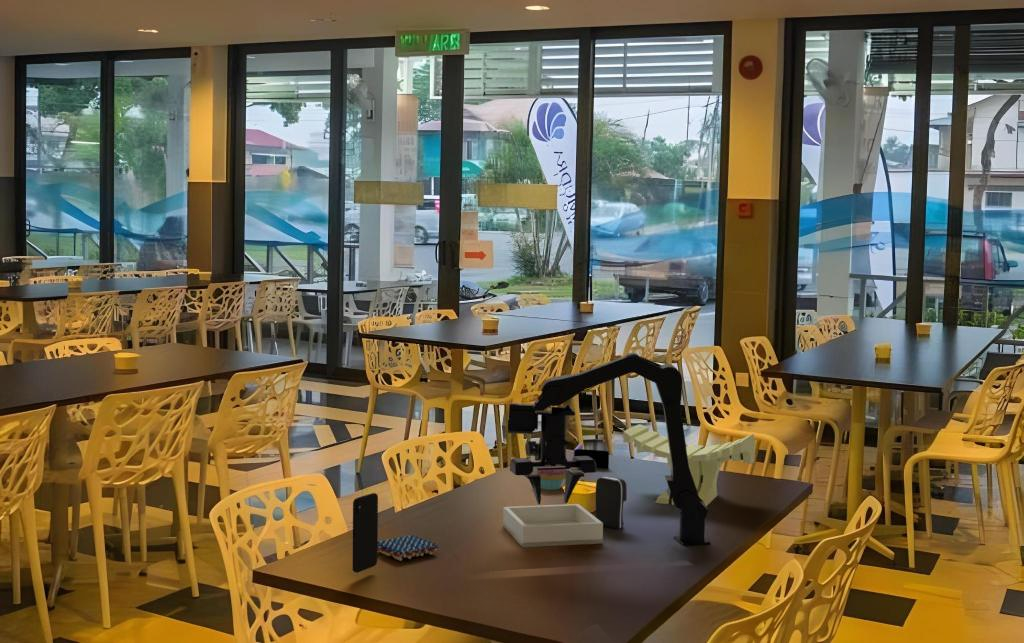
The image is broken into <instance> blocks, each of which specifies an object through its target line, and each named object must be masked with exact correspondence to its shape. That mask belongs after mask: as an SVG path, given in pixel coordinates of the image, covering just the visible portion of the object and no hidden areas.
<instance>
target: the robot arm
mask: <svg viewBox="0 0 1024 643" xmlns="http://www.w3.org/2000/svg"><path fill="white" fill-rule="evenodd" d="M631 373H634V374H636V375H638V376H640V377H642V378H644V379H646V380H648V381H650V382H652V383H655V387H656V389H657V393H658V396H659V398H660V402H661V404H662V407H663V413H664V414H663V415H664V421H665V427H666V435H667V436H666V437H667V438H668V443H669V451H670V458H671V465H672V469H671V470H670V475H668V474H667V475H664V478H665V481H666V483H667V488H666V490H667V494H668V496H669V499H672V500H673V503H674V505H673V506H675V507H676V508H677V509H679V510H680V513H679V525H678V526H679V530H678V532H679V533H678V535H673V539H674V540H675V541H677V542H678V543H680V544H681V545H683V546H697V545H700V546H701V545H711V541H710V540H709V539H708V538H706V518H707V515H708V513H709V509H708V507H707V506H706V505H705V503H704V501H703V500H702V499H701V498H700V497H699V496H698V492H697V489H696V486H695V483H694V480H693V477H692V474H691V472H690V469H689V464H688V457H687V450H686V444H687V443H686V437H685V436H686V435H685V430H684V428H685V427H684V422H683V417H682V416H683V415H682V409H681V405H682V404H681V403H682V396H683V395H682V393H683V376H682V374H681V372H680V371H679V370H678V368H677V367H676V366H674V365H673V364H670V363H664V364H659V363H658V362H655V361H652V360H649V359H648V358H646V357H643V356H640V355H639V354H638V353H635V352H629V353H627V354H626V355H624V356H621V357H618V358H616V359H613V360H611V361H608V362H605V363H603V364H599V365H597V366H594V367H591V368H589V369H586V370H584V371H580V372H578V373H572V374H563V375H557V376H553V377H552V376H551V377H550V378H547V379H546V380H545V381H544V382H543V385H541V386H542V387H541V394H540V395H538V397H537V398H536V399H534V402H533V403H517V402H510V403H509V409H508V418H507V434H515V435H516V434H519V435H533V434H534V432H536V431H537V430H539V416H541V417H540V436H539V443H537V441H535V440H532V441H531V440H529V441H526V448H525V451H526V456H527V457H519V458H517V457H515V458H513V457H512V458H511V459H510V462H509V471H510V472H511V473H512V474H513V475H514V476H524V477H525V478H526V479H528V480H529V483H530V485H531V487H532V491H533V495H534V497H535V501H536V503H537V505H541V503H542V502H541V499H542V488H541V476H540V475H538V470H554V469H566V470H565V475H566V479H565V482H564V483H565V485H564V494H563V501H564V502H563V503H565V504H568V502H569V501H570V498H571V496H572V494H573V491H574V489H575V487H576V486H577V484H578V482H579V480H580V479H581V478H583V477H585V474H592V473H593V474H594V473H597V468H596V462H595V461H594V460H593V459H592V458H590V457H589V456H574V455H573V457H572V460H568V459H567V446H568V442H569V440H567V424H568V423H567V422H568V420H567V418H568V416H571V417H573V416H574V417H575V415H576V410H575V409H573V408H572V407H571V406H570V403H567V404H565V406H561V405H562V404H564V403H566V402H567V401H569V400H571V399H573V398H574V397H576V396H578V395H579V394H580V393H582V392H584V391H585V390H588V389H591V388H593V387H595V386H599V385H601V384H604V383H607V382H609V381H612V380H615V379H618V378H620V377H623V376H625V375H628V374H631ZM550 407H551V409H550V410H547V409H548V408H550ZM528 457H534V461H532V460H531V459H529V458H528ZM546 465H550V466H546ZM556 465H557V466H556Z"/></svg>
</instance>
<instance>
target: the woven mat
mask: <svg viewBox="0 0 1024 643" xmlns="http://www.w3.org/2000/svg"><path fill="white" fill-rule="evenodd" d="M438 549H439V547H438V544H437V543H436V542H432V541H431V540H430V541H429V540H427V539H423V538H422V537H419V536H415V534H411V535H404V536H403V537H402V536H399V537H397V538H396V537H394V538H387V539H385V540H384V539H383V540H380V541H378V544H377V552H380V553H381V554H383V555H384V556H385V555H386V556H388V557H393V558H394V559H395V560H398V561H400V562H401V561H402V560H403V559H405V558H407V559H409V560H411V559H412V557H419V556H421V557H423V556H424V554H427V555H433V554H435V553H436V552H437V551H438Z"/></svg>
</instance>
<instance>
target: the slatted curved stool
mask: <svg viewBox="0 0 1024 643" xmlns="http://www.w3.org/2000/svg"><path fill="white" fill-rule="evenodd" d="M649 428H650V427H648V426H646V425H643V424H642V423H641V424H639V423H638V424H637V425H634V426H632V427H630V428H627V429H625V430H623V436H622V438H623V440H622V441H623V442H622V443H628V444H631V443H633V448H636V454H640V453H644V452H645V453H651V454H654V457H657V458H663V459H665V458H666V460H667V465H668V467H669V470H670V471H671V469H672V465H671V458H670V451H669V443H668V436H665V435H660V433H659V432H657V431H655V430H652V429H649ZM686 450H687V457H688V464H689V469H690V472H691V474H692V477H693V480H694V483H695V486H696V489H697V492H698V496H699V497H700V498H701V499H702V500H703V501H704V503H705V505H706V507H707V506H708V505H709V504H710V503H711V502H712V501H713V500H715V498H716V497H717V496H718V491H717V490H718V489H717V481H718V476H719V472H720V471H721V468H722V465H723V463H726V462H729V461H730V460H731V461H733V462H735V461H736V462H741V460H742V462H743V463H747V464H749V465H751V464H753V463H754V462H755V454H756V451H755V450H756V438H755V435H754V434H749V435H747V436H745V437H744V438H739V439H736V440H734V441H730V442H725V443H723V444H712V445H706V446H705V445H698V444H697V445H696V444H687V443H686ZM655 503H657V504H662V505H663V504H664V505H672V506H675V505H674V503H673V500H672V499H669V496H668V494H667V489H666V490H665V491H664V492H662V493H661V495H659V496H657V499H656V500H655Z"/></svg>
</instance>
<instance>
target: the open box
mask: <svg viewBox="0 0 1024 643" xmlns="http://www.w3.org/2000/svg"><path fill="white" fill-rule="evenodd" d="M502 511H503V512H502V514H503V515H502V516H503V517H502V521H503V522H502V523H503V524H502V527H503V528H504V529H505V530H506V531H507V532H508V533H509V535H511V537H513V539H515V541H516V542H517V543H518V544H519V545H520V546H521V547H522V548H537V547H538V548H539V547H556V546H557V547H559V546H574V545H575V546H577V545H594V544H595V545H596V544H597V545H598V544H603V543H604V542H603V536H604V535H603V534H604V532H603V531H604V526H603V523H602V522H601V521H600V520H598V519H597V518H596V516H595V515H594V514H592V513H591V512H589V511H588V510H587V509H586V508H584V507H583V506H582V505H580V504H579V503H573V504H572V503H571V504H570V503H569V504H568V503H565V504H545V505H544V504H542V505H521V506H504V507H503V510H502Z"/></svg>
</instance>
